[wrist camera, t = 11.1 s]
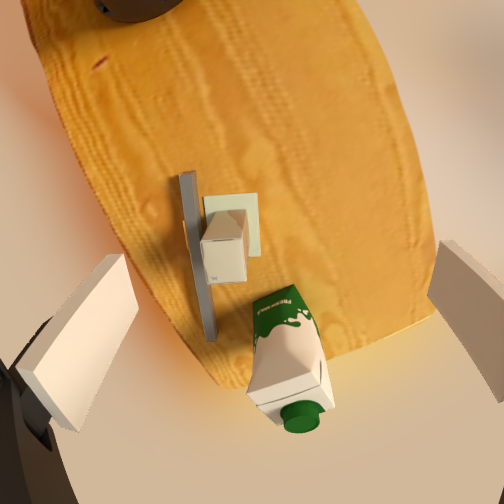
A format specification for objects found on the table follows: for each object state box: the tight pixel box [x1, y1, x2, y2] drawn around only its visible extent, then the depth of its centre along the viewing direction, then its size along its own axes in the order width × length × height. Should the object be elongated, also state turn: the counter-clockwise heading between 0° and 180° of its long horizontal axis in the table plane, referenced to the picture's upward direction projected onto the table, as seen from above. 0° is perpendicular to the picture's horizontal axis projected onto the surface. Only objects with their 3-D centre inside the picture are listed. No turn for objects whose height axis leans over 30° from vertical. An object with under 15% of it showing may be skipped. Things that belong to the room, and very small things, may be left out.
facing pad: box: [204, 193, 261, 257], centre depth 40 cm, size 9×7×1 cm
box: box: [200, 209, 250, 284], centre depth 35 cm, size 5×4×11 cm
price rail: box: [179, 171, 218, 342], centre depth 41 cm, size 26×2×2 cm, turn 4°
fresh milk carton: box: [246, 284, 335, 433], centre depth 36 cm, size 9×9×20 cm
